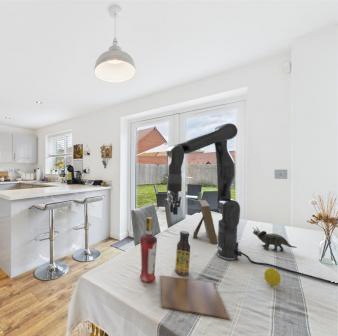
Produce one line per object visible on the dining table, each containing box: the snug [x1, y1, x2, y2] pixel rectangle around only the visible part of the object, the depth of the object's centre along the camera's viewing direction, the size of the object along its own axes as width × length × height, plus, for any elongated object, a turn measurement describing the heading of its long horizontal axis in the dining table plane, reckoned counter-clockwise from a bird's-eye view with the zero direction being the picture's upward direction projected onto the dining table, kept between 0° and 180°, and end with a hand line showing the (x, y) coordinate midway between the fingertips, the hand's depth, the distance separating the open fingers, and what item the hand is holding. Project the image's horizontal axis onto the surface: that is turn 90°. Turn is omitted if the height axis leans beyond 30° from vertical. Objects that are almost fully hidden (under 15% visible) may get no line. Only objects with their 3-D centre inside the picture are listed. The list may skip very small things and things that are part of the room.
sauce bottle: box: [174, 230, 191, 276], centre depth 94 cm, size 7×6×20 cm
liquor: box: [139, 216, 158, 284], centre depth 87 cm, size 7×7×28 cm
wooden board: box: [160, 275, 230, 320], centre depth 78 cm, size 22×20×1 cm
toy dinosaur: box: [252, 226, 298, 252], centre depth 122 cm, size 22×8×11 cm, turn 47°
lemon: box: [263, 267, 282, 287], centre depth 85 cm, size 6×6×8 cm
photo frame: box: [192, 199, 218, 244], centre depth 141 cm, size 15×22×25 cm
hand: (173, 213), depth 107 cm, fingers open, 4 cm apart
